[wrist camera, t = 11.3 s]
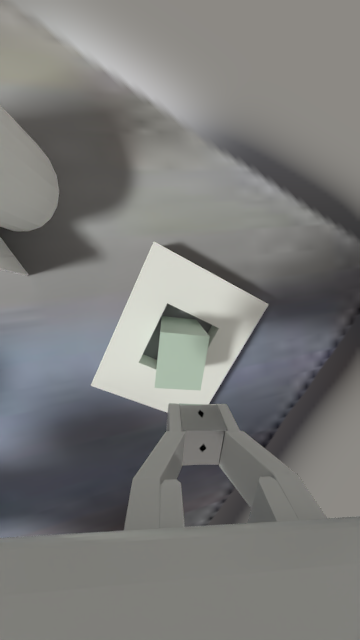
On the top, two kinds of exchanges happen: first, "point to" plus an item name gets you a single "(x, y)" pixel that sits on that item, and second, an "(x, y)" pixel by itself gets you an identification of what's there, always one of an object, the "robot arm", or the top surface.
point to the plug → (181, 354)
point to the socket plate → (181, 302)
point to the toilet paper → (23, 186)
